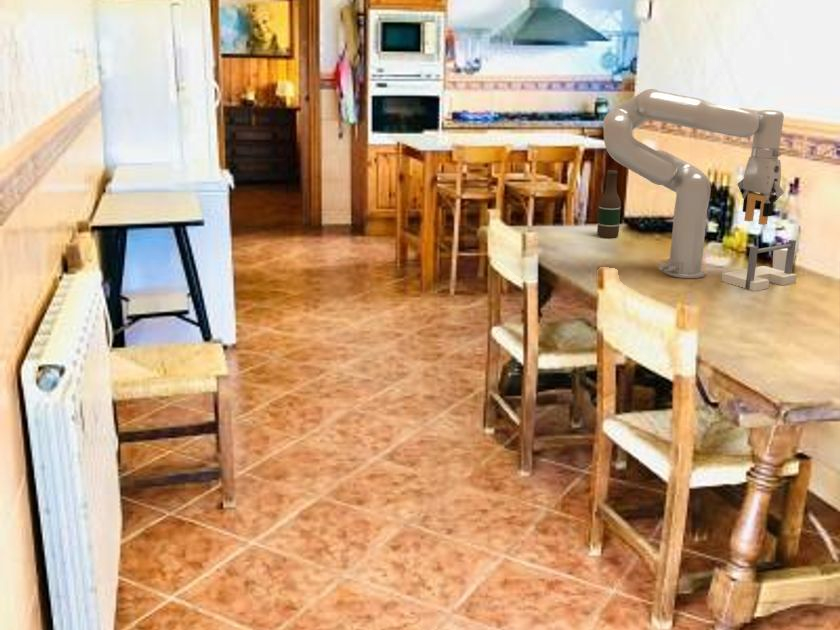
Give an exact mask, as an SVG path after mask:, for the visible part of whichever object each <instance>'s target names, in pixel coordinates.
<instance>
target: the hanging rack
mask: <svg viewBox="0 0 840 630" xmlns="http://www.w3.org/2000/svg"><path fill="white" fill-rule="evenodd" d="M787 241H788V243H786V244H781V245H780V244H779V245H775V246H768V247H763V248H762V247H761V248H759V246H755V245H753V246H752V245H751V246H749V254H748V263H747V268H744V269H738V270H733V271H729V272H727V271H726V272H722V276H721V282H722V281H723V283H726V284H729V285H732V284H733V286H735V285H736V287H739V286H740V288H742V287H743V289H745V288H746V290H749V291H752V292H757V291H763V290H768V289H769V286H770V283H773V284H776V285H780V286H785V285H791V284H796V282H797V275H798V274H796V273H793V268H794V267H793V266H794V263H793V261H794V262H795V259H794V254H795V248H796V244H797V240H796V239H789V240H787ZM785 248H787V256H786V263H785V271H781V270H778V269H774V268H773V267H770V266H766V265H760V266H757V260H758V259H757V258H758V254H761V253H768V252H773V251H774V250H780V249H785Z"/></svg>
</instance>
